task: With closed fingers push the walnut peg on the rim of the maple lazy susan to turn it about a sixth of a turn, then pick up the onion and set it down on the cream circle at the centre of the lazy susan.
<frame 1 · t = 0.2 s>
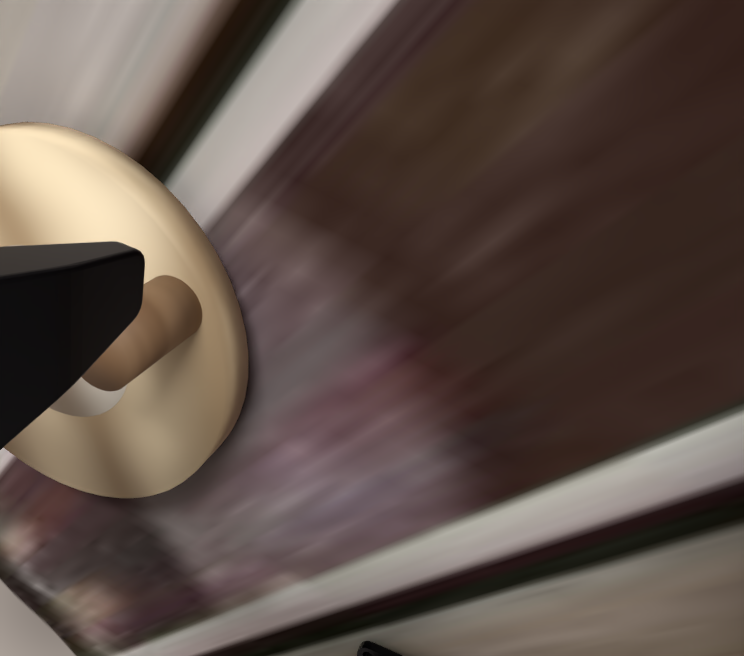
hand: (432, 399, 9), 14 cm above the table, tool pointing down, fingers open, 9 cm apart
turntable: (28, 347, 27), point 4 cm above the table, hinge at 0.0°
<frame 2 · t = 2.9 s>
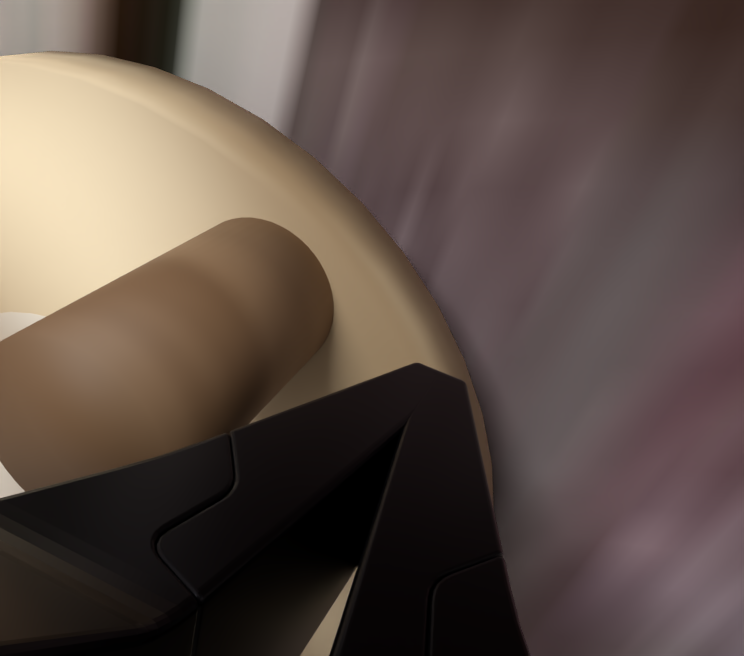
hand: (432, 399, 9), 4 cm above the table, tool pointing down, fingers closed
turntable: (36, 522, 13), point 4 cm above the table, hinge at 0.7°, touching gripper
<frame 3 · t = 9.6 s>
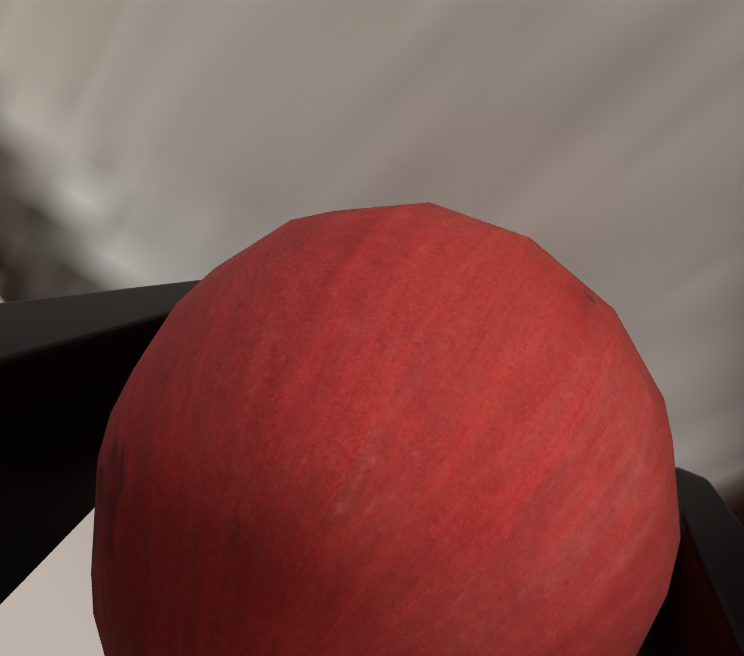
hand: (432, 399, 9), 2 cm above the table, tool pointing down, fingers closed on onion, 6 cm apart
onion: (469, 327, 11), on the table, touching gripper
when the fingers open (6 cm above the table, at t = 13.1 s): onion drops 1 cm, resting on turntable.
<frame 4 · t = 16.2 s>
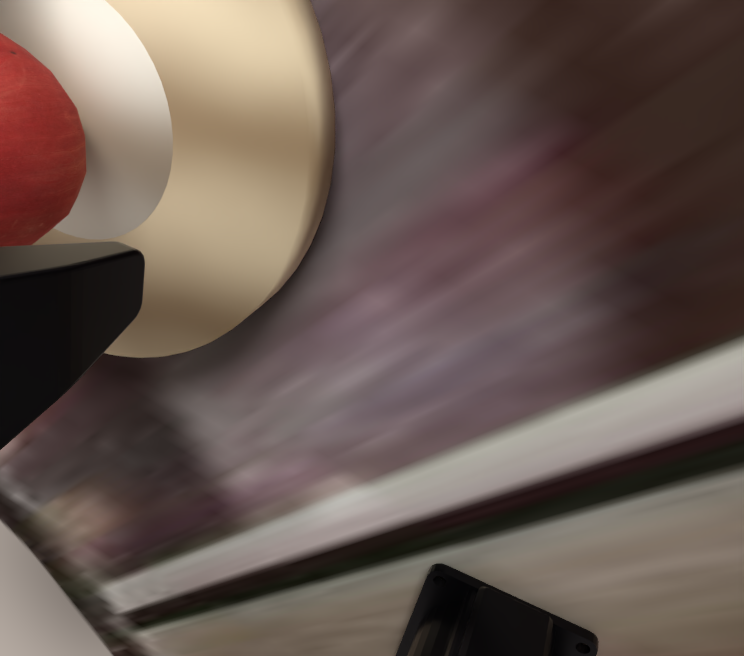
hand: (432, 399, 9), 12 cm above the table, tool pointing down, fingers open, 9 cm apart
onion: (70, 119, 21), point 3 cm above the table, touching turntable
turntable: (35, 122, 20), point 4 cm above the table, hinge at 75.9°, touching onion
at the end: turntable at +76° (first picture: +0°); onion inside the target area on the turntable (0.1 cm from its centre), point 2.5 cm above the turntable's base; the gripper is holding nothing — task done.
